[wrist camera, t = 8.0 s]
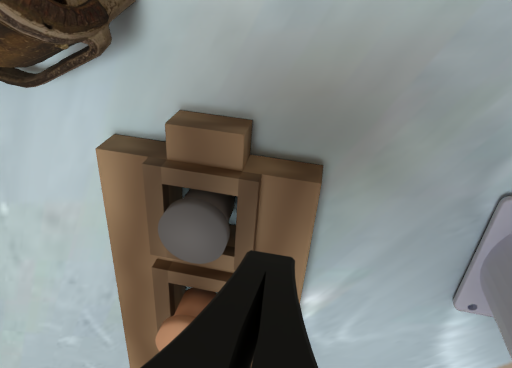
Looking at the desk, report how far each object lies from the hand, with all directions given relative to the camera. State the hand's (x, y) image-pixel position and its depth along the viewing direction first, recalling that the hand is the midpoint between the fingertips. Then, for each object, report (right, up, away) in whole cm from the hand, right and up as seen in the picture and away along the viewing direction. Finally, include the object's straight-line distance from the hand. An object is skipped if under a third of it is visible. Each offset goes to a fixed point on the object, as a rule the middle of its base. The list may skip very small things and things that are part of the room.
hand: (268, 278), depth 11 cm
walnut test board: (-3, -4, +15) cm, 16 cm away
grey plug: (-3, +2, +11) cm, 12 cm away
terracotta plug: (-4, -5, +13) cm, 15 cm away
